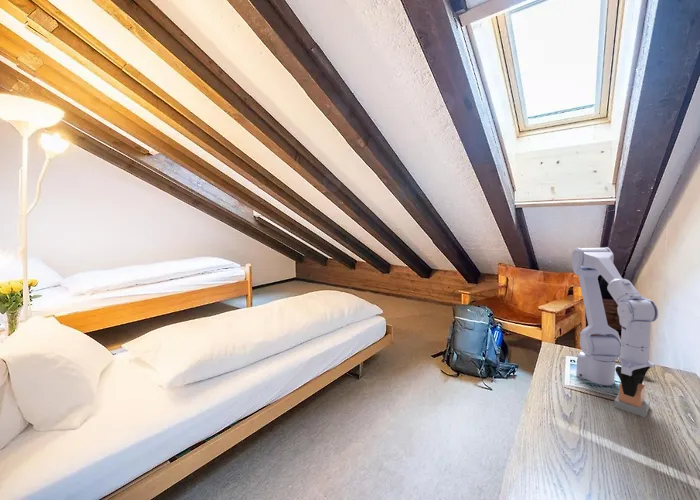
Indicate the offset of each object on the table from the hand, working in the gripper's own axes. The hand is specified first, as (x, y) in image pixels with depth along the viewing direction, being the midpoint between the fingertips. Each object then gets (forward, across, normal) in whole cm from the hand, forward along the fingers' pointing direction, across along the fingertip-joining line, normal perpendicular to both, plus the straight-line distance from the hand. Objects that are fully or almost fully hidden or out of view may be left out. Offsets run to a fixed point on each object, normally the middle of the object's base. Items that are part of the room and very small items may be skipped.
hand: (631, 391), depth 87 cm
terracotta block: (+3, 0, 0) cm, 3 cm away
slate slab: (+5, 0, 0) cm, 5 cm away
